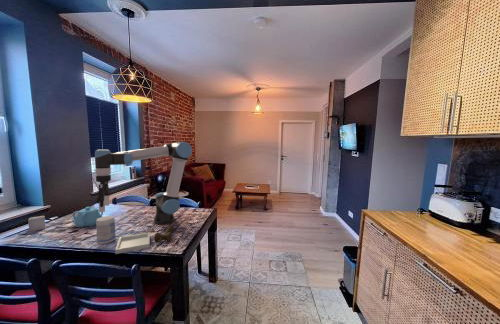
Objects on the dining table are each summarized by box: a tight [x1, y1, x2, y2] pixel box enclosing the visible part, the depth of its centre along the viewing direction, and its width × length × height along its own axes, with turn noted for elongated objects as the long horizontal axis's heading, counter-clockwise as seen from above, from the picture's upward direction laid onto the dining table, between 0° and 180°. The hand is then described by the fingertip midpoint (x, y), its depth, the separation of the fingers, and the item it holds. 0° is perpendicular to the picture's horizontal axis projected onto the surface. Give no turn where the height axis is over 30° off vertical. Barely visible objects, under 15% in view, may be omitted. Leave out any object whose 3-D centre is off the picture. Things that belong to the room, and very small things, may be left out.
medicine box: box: [27, 215, 46, 232], centre depth 142 cm, size 8×4×9 cm, turn 135°
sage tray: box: [114, 232, 151, 255], centre depth 124 cm, size 17×17×2 cm
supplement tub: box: [95, 215, 116, 245], centre depth 127 cm, size 10×10×15 cm
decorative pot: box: [72, 206, 104, 228], centre depth 151 cm, size 16×16×14 cm
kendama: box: [153, 225, 175, 243], centre depth 132 cm, size 6×10×20 cm
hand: (104, 208), depth 125 cm, fingers open, 13 cm apart
